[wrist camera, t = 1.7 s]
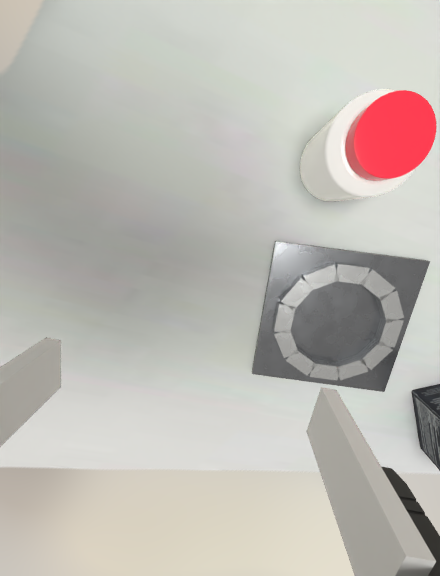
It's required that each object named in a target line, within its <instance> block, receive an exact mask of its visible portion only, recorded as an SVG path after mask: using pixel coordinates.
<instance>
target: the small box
mask: <svg viewBox="0 0 440 576" xmlns="http://www.w3.org/2000/svg"><path fill="white" fill-rule="evenodd" d="M412 395H413V402H414V408H415V415H416V421H417V427H418V434H419V440H420V446H421V449H422V450H423V451H424V452H425V454H426V455H427V456H428V457H429V458H430V459H431V461H432V462H433V463H434V464H435V465H436V466H437V468H438V469H439V470H440V384H439V385H434V386H430V387H426V388H421V389H417V390H413V391H412Z"/></svg>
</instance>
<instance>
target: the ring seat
mask: <svg viewBox="0 0 440 576" xmlns="http://www.w3.org/2000/svg"><path fill="white" fill-rule="evenodd" d="M429 263H430V261H426V260H418V259H410V258H403V257H395V256H387V255H379V254H371V253H364V252H356V251H348V250H340V249H332V248H325V247H317V246H309V245H301V244H293V243H285V242H278V241H275V246H274V251H273V257H272V262H271V268H270V274H269V279H268V285H267V290H266V296H265V301H264V307H263V313H262V318H261V324H260V329H259V335H258V340H257V346H256V352H255V357H254V363H253V368H252V374H257V375H264V376H272V377H279V378H286V379H294V380H301V381H308V382H316V383H323V384H331V385H338V386H345V387H353V388H360V389H368V390H375V391H382V392H384V391H385V388H386V385H387V382H388V380H389V377H390V374H391V371H392V368H393V365H394V362H395V360H396V357H397V354H398V351H399V348H400V345H401V343H402V340H403V337H404V334H405V331H406V328H407V325H408V323H409V320H410V317H411V314H412V311H413V308H414V306H415V303H416V300H417V297H418V294H419V291H420V289H421V286H422V283H423V280H424V277H425V274H426V271H427V269H428V266H429Z"/></svg>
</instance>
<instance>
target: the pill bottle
mask: <svg viewBox="0 0 440 576" xmlns="http://www.w3.org/2000/svg"><path fill="white" fill-rule="evenodd" d="M435 134H436V118H435V114H434V111H433V109H432V107H431V105H430V104H429V103H428V101H427V100H426V99H425V98H423V97H422V96H421V95H419V94H417V93H415V92H411V91H407V90H404V91H397V90H392V89H377V90H373V91H369V92H366V93H364V94H362V95H359V96H357V97H356V98H354V99H353V100H352V101H350V102H349V103H347V104H346V105H345V106H344V107H343V108H342V109H341V110H340V111H339V112H338V113H337V114H336V115H335V116H334V117H333V118H332V119H331V120H330V121H329V122H328V123H327V124H326V125H325V126H324V127H323V128H321V129H320V130H319V131H318V132H317V133H316V134H315V135H314V136H313V137H312V138H311V139H310V141H309V142H308V144H307V145H306V146H305V149H304V151H303V153H302V156H301V160H300V176H301V179H302V183H303V184H304V186H305V188H306V189H307V191H308V192H309V193H310V194H311V195H313V196H314V197H315V198H318V199H320V200H323V201H328V202H336V201H344V200H352V199H361V198H369V197H375V196H380V195H383V194H385V193H388V192H390V191H392V190H393V189H395V188H397V187H398V186H400V185H401V184H402V183H403V182H404V181H406V180H407V179H408V178H409V177H410V175H411V174H412V173H413V172H414V170H415V169H416V167H417V166H418V165H419V164H420V163H421V162H422V161H423V160H424V159H425V157H426V156H427V155H428V153H429V151H430V149H431V147H432V145H433V142H434V139H435Z"/></svg>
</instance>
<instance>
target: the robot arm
mask: <svg viewBox="0 0 440 576" xmlns="http://www.w3.org/2000/svg"><path fill="white" fill-rule="evenodd" d="M60 387H61V340H56V339H51V338H45V339H43V340H41V341H40V342H38V343H37V344H35V345H34V346H32V347H31V348H29V349H28V350H26V351H25V352H23V353H21V354H20V355H18V356H17V357H15V358H14V359H12V360H11V361H9V362H8V363H6V364H5V365H3V366H1V367H0V447H1V446H2V445H3V444H4V443H5V442H6V441H7V440H8V439H9V438H10V437H11V436H12V435H13V434H14V433H15V432H16V431H17V430H18V429H19V428H20V427H21V426H22V425H23V424H24V423H25V422H26V421H27V420H28V419H29V418H30V417H31V416H32V415H33V414H34V413H35V412H36V411H37V410H38V409H39V408H40V407H41V406H42V405H43V404H44V403H45V402H46V401H47V400H48V399H49V398H50V397H51V396H52V395H53V394H54V393H55V392H56V391H57V390H58V389H59V388H60ZM307 434H308V437H309V440H310V443H311V446H312V449H313V452H314V455H315V458H316V461H317V464H318V467H319V470H320V473H321V476H322V479H323V482H324V485H325V488H326V491H327V494H328V497H329V500H330V503H331V506H332V509H333V512H334V515H335V518H336V521H337V524H338V527H339V530H340V533H341V536H342V539H343V542H344V545H345V548H346V551H347V554H348V556H349V560H350V563H351V566H352V569H353V572H354V575H355V576H440V536H439V535H438V533H437V531H436V530H435V528H434V526H433V525H432V523H431V522H430V520H429V519H428V517H427V516H425V513H424V511H423V509H422V508H421V506H420V505H419V503H418V502H416V498H415V497H414V495H413V494H412V492H411V490H410V489H409V487H408V486H407V484H406V483H405V482H404V481H403V480H402V479H401V478H400V477H399V476H398V475H397V474H396V472H395V471H394V470H393V469H391V468H385V467H381V466H380V464H379V462H378V461H377V459H376V457H375V456H374V454H373V452H372V450H371V449H370V447H369V445H368V444H367V442H366V440H365V438H364V437H363V435H362V433H361V431H360V430H359V428H358V426H357V425H356V423H355V421H354V419H353V418H352V416H351V414H350V413H349V411H348V409H347V407H346V406H345V404H344V402H343V401H342V399H341V397H340V395H339V394H338V392H337V390H333V389H327V388H322V387H321V389H320V392H319V395H318V399H317V402H316V405H315V408H314V411H313V414H312V417H311V420H310V423H309V426H308V429H307Z"/></svg>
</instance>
